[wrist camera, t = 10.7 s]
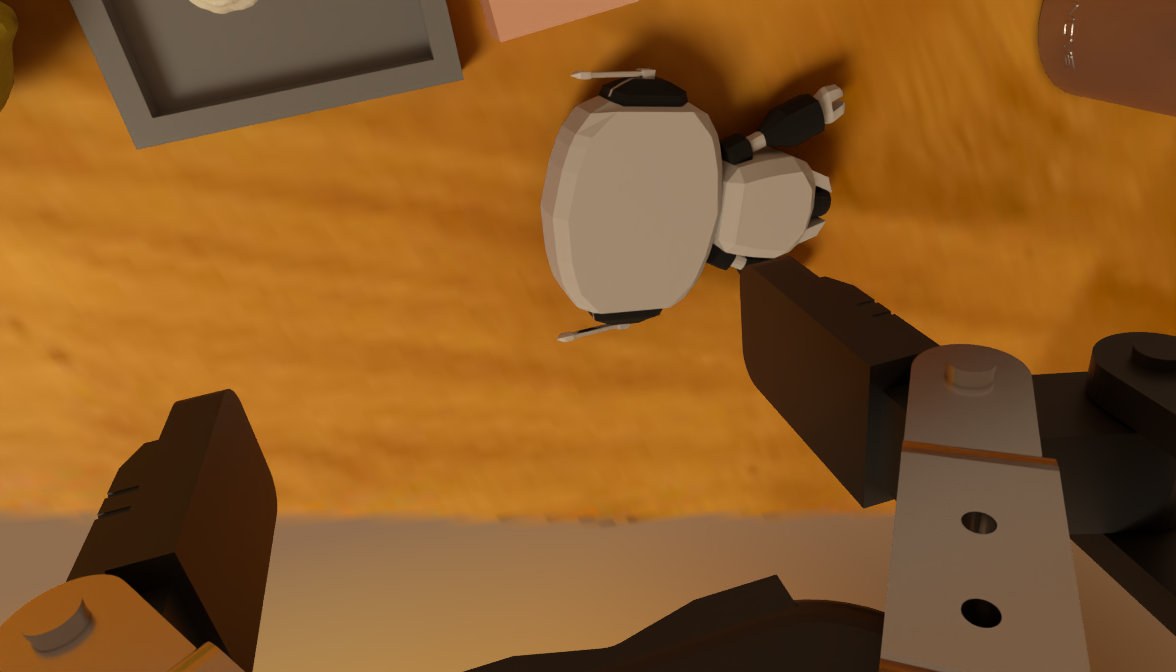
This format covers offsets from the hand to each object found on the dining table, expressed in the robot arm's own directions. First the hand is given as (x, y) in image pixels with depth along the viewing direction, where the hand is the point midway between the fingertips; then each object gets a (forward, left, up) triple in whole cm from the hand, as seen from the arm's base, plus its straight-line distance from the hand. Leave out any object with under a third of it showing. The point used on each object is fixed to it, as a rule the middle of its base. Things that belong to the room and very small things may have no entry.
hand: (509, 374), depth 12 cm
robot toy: (-12, +7, -25) cm, 29 cm away
